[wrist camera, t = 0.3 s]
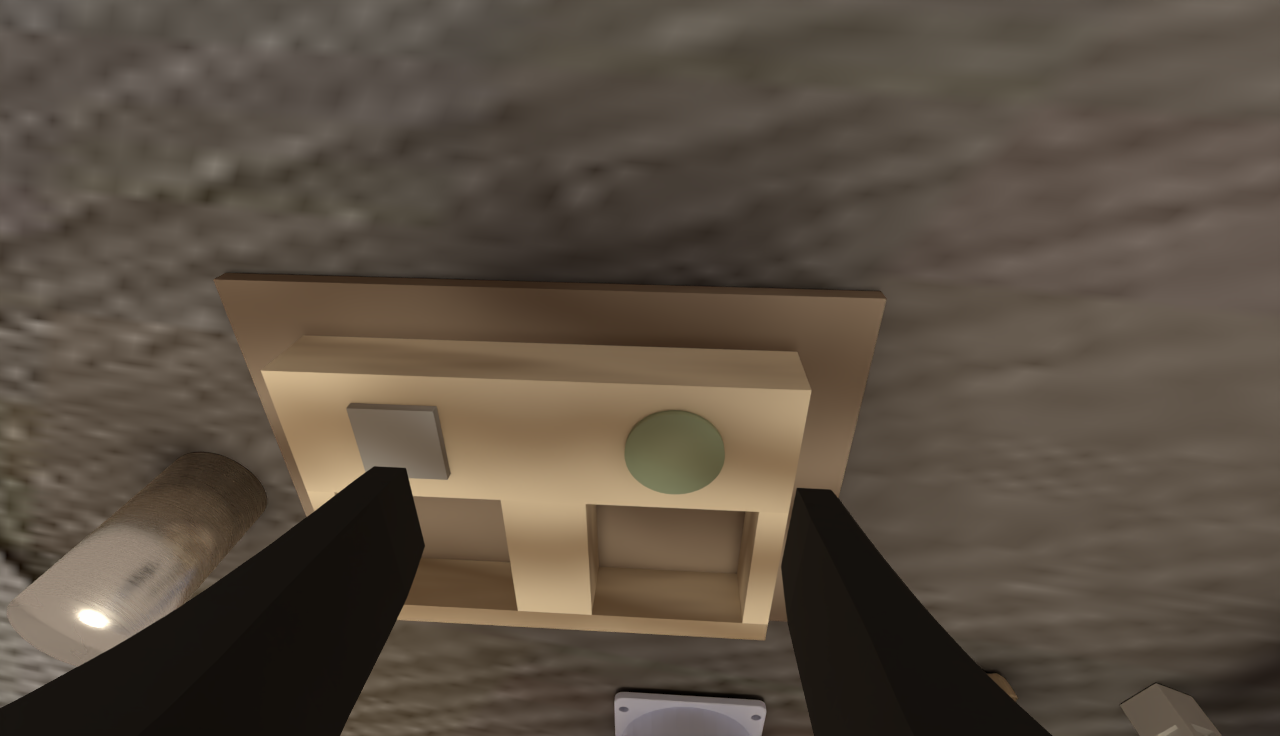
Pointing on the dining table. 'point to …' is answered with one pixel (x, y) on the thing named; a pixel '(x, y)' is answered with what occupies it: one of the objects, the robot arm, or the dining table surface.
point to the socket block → (569, 433)
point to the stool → (1167, 714)
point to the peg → (140, 559)
